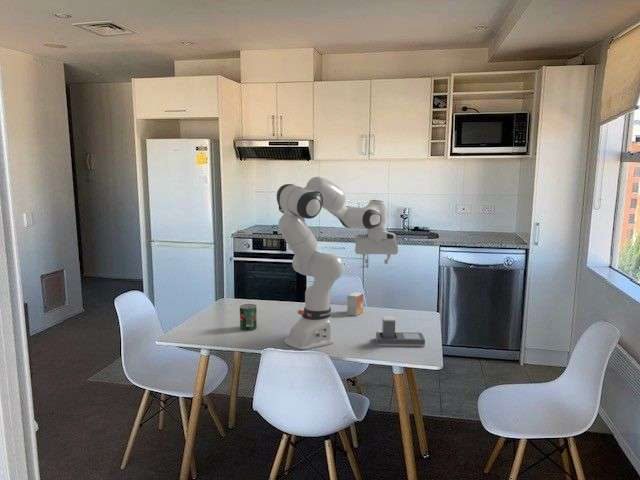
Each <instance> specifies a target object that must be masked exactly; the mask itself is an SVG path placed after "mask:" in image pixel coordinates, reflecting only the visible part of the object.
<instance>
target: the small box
mask: <svg viewBox="0 0 640 480" xmlns="http://www.w3.org/2000/svg"><path fill="white" fill-rule="evenodd" d="M346 298H347V302H346V303H347V305H346V307H347V309H346V311H347V313H346V314H347V315H348V316H355V317H358V315H361V314H363V313H364V293H362V292H356V291H354V292H352V293H350V294H348V295H347V297H346Z"/></svg>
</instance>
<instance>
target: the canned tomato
mask: <svg viewBox="0 0 640 480" xmlns="http://www.w3.org/2000/svg"><path fill="white" fill-rule="evenodd" d="M239 326H240V327H239V330H240V331H242V332H252V331H253V332H254V331H255V330H257V328H258V325H257V305H256V304H254V303H245V304H243V303H242V304H241V305H240V306H239Z"/></svg>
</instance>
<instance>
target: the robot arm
mask: <svg viewBox="0 0 640 480" xmlns="http://www.w3.org/2000/svg"><path fill="white" fill-rule="evenodd" d="M276 202H277V204H278V211H279V212H280V213H281V214H282V216H281V217H280V218H279V220H278V229H279V231H280V233H281V235H282V238H283V239H284V240H285V242H286V244H287V245H288V247H289V248H290V250H291V251H292V253H293V254H294V256H293V258H292V262H291V263H292V264H291V265H292V268H293V270H294V271H295V272H297V273H299V274H300V275H303V276H306V277H313V278H314V279H313V284H311V285H310V286H308V287H307V288H306V290H305V292H304V295H305V297H304V308H303V310H302V309H298V310H297V314H298V315H301V317H300V318H299V320H298V321H296V323H295V324H294V325H292V327H291V328H290V332H289V337H287V338H285V339H284V344H286V345H288V346H289V347H291V348H294V349H298V350H303V351H304V350H310V349H315V348H318V347H322V346H323V347H324V346H327V345H331V344H334V335H333V331H332V330H333V329H332V324H331V316H332V308H331V293H332V287H333V285H334V284H335V282H336V281H337V280H338V279H340V278H341V276H342V275H343V274H344V271H345V263H344V260H343V259H342V258H341V257H339V256H337V255H335V254H330V253H324V252H319V251H317V247H318V240H317V238H316V237H315V235H314V233H313V232H312V231H311V229H310V227H309V225H307V223H306V219H307V220H308V219H314V218H316V217H317V216H318V215H319V213H320V212H321V211H322V208H323V209H324V210H327V211H328V212H329V213H330V214H331V215H333V216H334V217H336V218H337V219H338V221H339V222H340V223H341V225H342V226H343V227H345V228H348V229H351V228H352V229H360V230H361V229H362V230H367V233H366V234H365V233H363V234H361V233H360V234H358V233H357V235H355V236H354V243H355V245H354V246H355V247H354V253H355V254H356V255H362V258H363V260H364V264H369V263H368V261H369V260H368V259H367V258H366V255H386V259H384V264H385V265H388V264H389V260H390V258H391V255H393V256H396V255H397V254H399V244H398V241H397V240H396V238H397V235H396V234H395V233H394V232H391V231H388V230H387V225H386V224H387V217H388V215H387V214H388V212H387V211H388V210H387V205H386V202H384V200H378V199H371V200H369V203H368V204H367V205H365V206H364V207H357V206H356V207H355V206H349V205H348V206H345V203H346V193H345V191H344V190H343V188H341V187H339V185H337V184H336V183H334V182H332V181H330V180H328V179H326V178H323V177H321V176H313V177H312V178H310V179H309V180H308V181H307V183H306V185H305V187H302V186H299V185H295V184H294V183H287V184H283V185H281V186H280V187H279V188H278V190H277V192H276Z"/></svg>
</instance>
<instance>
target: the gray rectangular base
mask: <svg viewBox="0 0 640 480" xmlns="http://www.w3.org/2000/svg"><path fill="white" fill-rule="evenodd" d="M375 340H376V345H377V346H378V347H379V346H380V347H426V346H425V344H426V339H425V337H424V335H423V333H422V332H404V331H402V332H400V331H399V332H395V339H391V338H382V332H377V331H376V333H375Z"/></svg>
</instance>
